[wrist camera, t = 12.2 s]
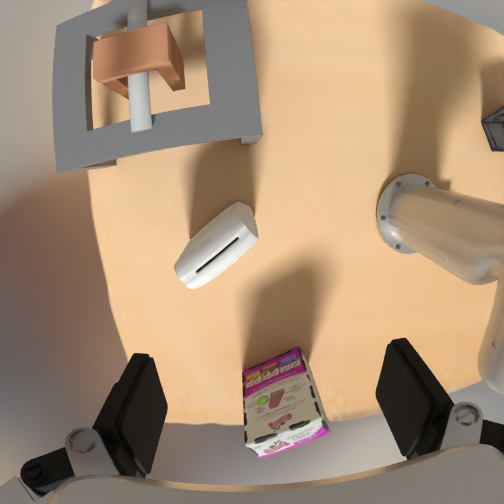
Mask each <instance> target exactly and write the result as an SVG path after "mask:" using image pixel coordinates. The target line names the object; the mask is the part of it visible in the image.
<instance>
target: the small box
mask: <svg viewBox="0 0 504 504" xmlns="http://www.w3.org/2000/svg"><path fill="white" fill-rule="evenodd" d="M481 123H482V126H483V129H484V131H485V134H486V137H487V139H488V142H489V145H490V148H491V151H499V152H500V151H501V152H504V107H503V108H501V109H500V110H498V111H497V112H495V113H494V114H492V115H490V116H489V117H488V118H486V119H485V120H483V121H481Z"/></svg>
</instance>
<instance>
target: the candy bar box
mask: <svg viewBox="0 0 504 504" xmlns="http://www.w3.org/2000/svg"><path fill="white" fill-rule="evenodd" d="M242 382H243V406H244V407H243V408H244V409H243V411H244V433H245V434H244V435H245V445H246V446H247V447H248V448H249V449H250V450H252V451H253V452H254V453H255V454H257V456H258V457H259V458H264V457H267V456H270V455H273V454H277V453H279V452H282V451H285V450H288V449H291V448H294V447H296V446H299V445H302V444H305V443H307V442H310V441H312V440H315V439H317V438H320V437H322V436H325V435H327V434H329V433H331V429H330V426H329V423H328V420H327V417H326V414H325V411H324V408H323V405H322V402H321V399H320V396H319V392H318V389H317V386H316V383H315V380H314V377H313V374H312V371H311V368H310V366H309V363H308V362H307V360H306V358H305V356H304V354H303V353H302V351H301V349H300V347H297V348H295V349H293V350H290V351H288V352H286V353H284V354H282V355H280V356H278V357H275V358H273V359H271V360H269V361H267V362H265V363H262V364H260V365H258V366H255V367H253V368H251V369H248V370H246V371H243V372H242Z"/></svg>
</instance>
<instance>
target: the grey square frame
mask: <svg viewBox="0 0 504 504" xmlns="http://www.w3.org/2000/svg"><path fill="white" fill-rule="evenodd" d="M197 10H202V14H203V28H204V40H205V52H206V64H207V75H208V86H209V96H210V105H203V106H197V107H190V108H184V109H179V110H173V111H168V112H163V113H158V114H153V115H151V106H150V92H149V75H148V71H146V72H142V73H138V74H134V75H130V76H128V91H129V107H130V120H127V121H123V122H119V123H115V124H112V125H108V126H104V127H101V128H97V129H94V130H93V118H92V97H91V59H92V60H93V50H94V42H96V41H99V40H98V39H97V38H95V37H97V36H100V35H103V34H106V33H108V32H111V31H114V30H117V29H121V28H124V27H127V32H128V31H131V30H135V29H139V28H143V27H147V21H149V20H153V19H157V18H161V17H165V16H170V15H175V14H180V13H185V12H191V11H197ZM52 93H53V94H52V95H53V96H52V97H53V99H52V100H53V131H54V145H55V156H56V166H57V173H64V172H72V171H80V170H89V169H99V168H106V167H111V166H115V165H116V159H118V158H122V157H127V156H132V155H136V154H141V153H146V152H151V151H156V150H162V149H167V148H173V147H179V146H185V145H192V144H198V143H205V142H213V141H220V140H229V139H238V138H241V145H244V144H254V143H257V142H258V140H259V139H260V138H261V136H262V135H263V133H262V124H261V114H260V105H259V96H258V88H257V79H256V71H255V62H254V54H253V46H252V38H251V30H250V23H249V15H248V8H247V0H118V1H115V2H112V3H109V4H107V5H104V6H101V7H98V8H96V9H93V10H91V11H89V12H86V13H83V14H81V15H79V16H76V17H74V18H72V19H70V20H68V21H65V22H63V23H61V24H59V25H57V29H56V38H55V48H54V62H53V92H52Z"/></svg>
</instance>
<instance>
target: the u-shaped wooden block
mask: <svg viewBox="0 0 504 504" xmlns="http://www.w3.org/2000/svg"><path fill="white" fill-rule="evenodd" d="M155 69H157V71H158V72H159V73H160V74H161V76H162V77H163V78H164V80H165V81H166V82H167V84H168V85H169V86H170V88H171V89H172V90H173V91H176V90H182V89H185V78H184V65H183V59H182V56H181V54H180V52H179V49H178V47H177V45H176V42H175V40H174V38H173V35H172V33H171V31H170V28H169V26H168V24H167V22H166V23H161V24H156V25H152V26H147V27H143V28H139V29H135V30H131V31H128V32H124V33H121V34H117V35H114V36H111V37H108V38H105V39H102V40H99V41H96V42H94V50H93V79H95V80H97V81H98V82H100V83H102V84H103V85H105V86H107V87H108V88H110V89H112V90H114V91H115V92H117V93H119V94H120V95H122V96H124V97H125V98H127V99H128V100H129V91H128V76H130V75H134V74H138V73H142V72H146V71H151V70H155Z"/></svg>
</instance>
